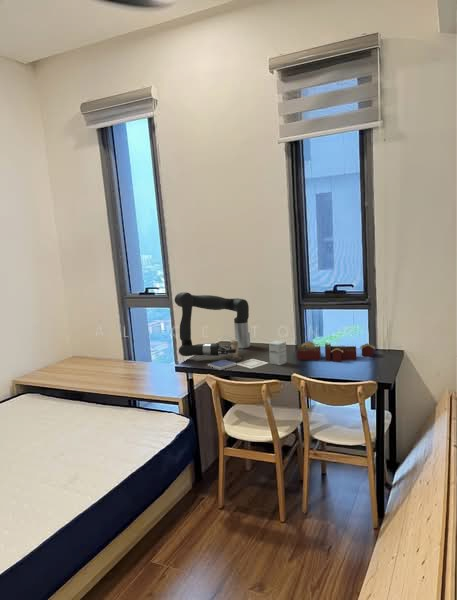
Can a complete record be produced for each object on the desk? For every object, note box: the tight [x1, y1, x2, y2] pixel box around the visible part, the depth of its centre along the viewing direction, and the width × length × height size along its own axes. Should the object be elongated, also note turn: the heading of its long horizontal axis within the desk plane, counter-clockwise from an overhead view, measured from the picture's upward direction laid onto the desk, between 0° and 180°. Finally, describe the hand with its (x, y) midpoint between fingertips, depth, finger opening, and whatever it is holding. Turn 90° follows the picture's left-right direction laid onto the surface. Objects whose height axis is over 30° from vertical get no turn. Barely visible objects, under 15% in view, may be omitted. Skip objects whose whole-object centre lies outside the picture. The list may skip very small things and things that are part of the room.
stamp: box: [228, 339, 242, 363], centre depth 276 cm, size 5×5×12 cm
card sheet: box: [236, 358, 269, 370], centre depth 267 cm, size 14×14×1 cm
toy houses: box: [296, 340, 376, 363], centre depth 270 cm, size 45×20×10 cm, turn 75°
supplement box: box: [268, 340, 287, 366], centre depth 264 cm, size 7×7×13 cm
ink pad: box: [207, 359, 237, 371], centre depth 267 cm, size 12×12×2 cm
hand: (236, 349), depth 276 cm, fingers open, 8 cm apart
